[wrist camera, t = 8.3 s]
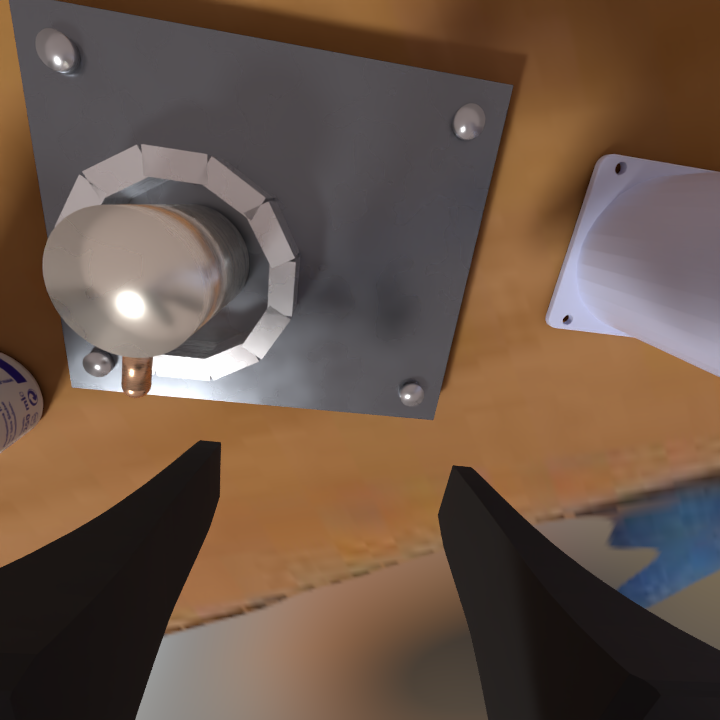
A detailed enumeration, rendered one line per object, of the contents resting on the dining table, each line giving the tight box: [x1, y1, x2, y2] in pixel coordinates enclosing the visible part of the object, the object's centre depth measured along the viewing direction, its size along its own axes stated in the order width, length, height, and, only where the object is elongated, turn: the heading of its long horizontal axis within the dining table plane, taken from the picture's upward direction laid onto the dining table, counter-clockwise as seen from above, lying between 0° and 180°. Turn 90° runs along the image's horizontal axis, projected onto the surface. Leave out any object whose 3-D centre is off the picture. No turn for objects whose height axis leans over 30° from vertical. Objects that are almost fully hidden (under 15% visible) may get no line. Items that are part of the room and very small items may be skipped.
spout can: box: [43, 204, 249, 398], centre depth 14 cm, size 4×6×6 cm
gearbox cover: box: [9, 0, 513, 420], centre depth 17 cm, size 18×15×4 cm
